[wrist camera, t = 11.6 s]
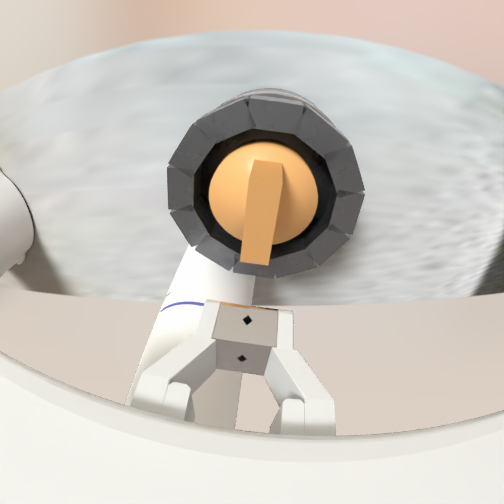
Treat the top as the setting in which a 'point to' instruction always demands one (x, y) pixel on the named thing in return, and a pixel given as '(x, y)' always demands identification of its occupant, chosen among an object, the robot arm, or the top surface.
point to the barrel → (281, 129)
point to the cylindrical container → (185, 324)
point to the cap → (263, 196)
